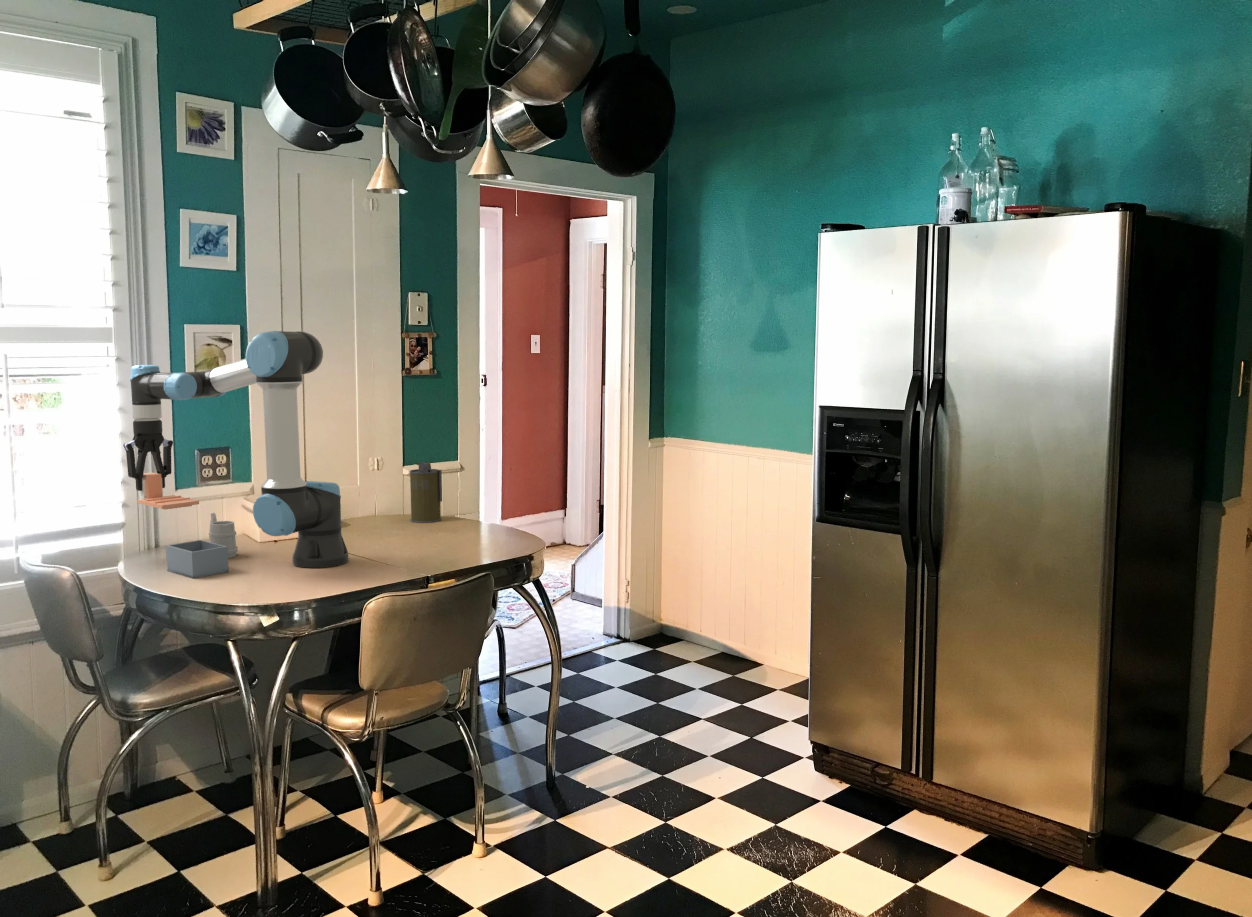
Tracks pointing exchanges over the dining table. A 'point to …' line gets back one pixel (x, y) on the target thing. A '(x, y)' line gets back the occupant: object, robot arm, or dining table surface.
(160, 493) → the lid
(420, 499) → the canister
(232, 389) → the robot arm
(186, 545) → the tub
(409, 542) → the dining table surface
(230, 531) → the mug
